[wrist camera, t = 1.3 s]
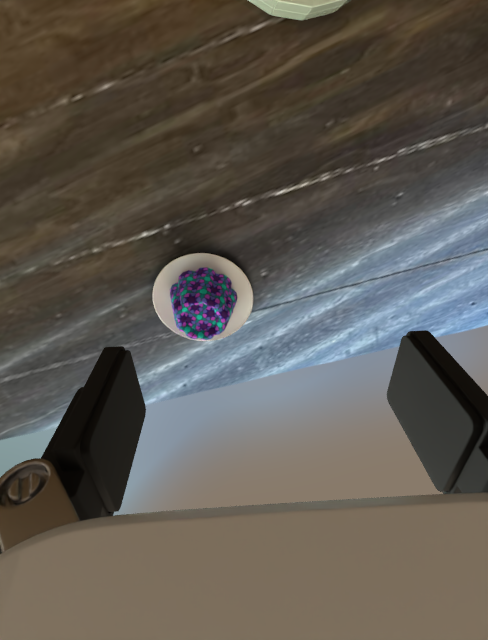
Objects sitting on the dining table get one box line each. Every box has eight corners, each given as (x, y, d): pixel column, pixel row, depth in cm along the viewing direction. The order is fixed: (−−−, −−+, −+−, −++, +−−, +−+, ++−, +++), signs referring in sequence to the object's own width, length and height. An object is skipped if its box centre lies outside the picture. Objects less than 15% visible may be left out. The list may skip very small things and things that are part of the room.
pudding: (139, 316, 41) (129, 340, 37) (176, 232, 36) (169, 249, 32) (225, 349, 45) (225, 376, 40) (270, 278, 39) (276, 299, 35)
